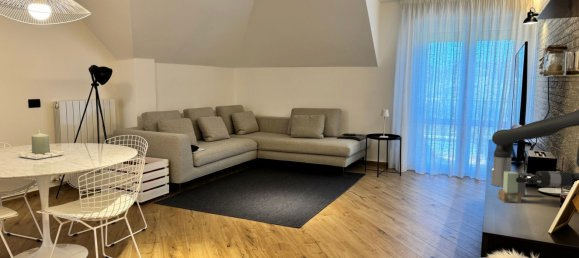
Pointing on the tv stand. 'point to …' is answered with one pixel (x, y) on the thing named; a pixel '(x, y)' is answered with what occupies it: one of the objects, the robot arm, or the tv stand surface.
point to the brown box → (509, 197)
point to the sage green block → (510, 182)
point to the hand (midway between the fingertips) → (513, 178)
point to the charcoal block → (521, 188)
